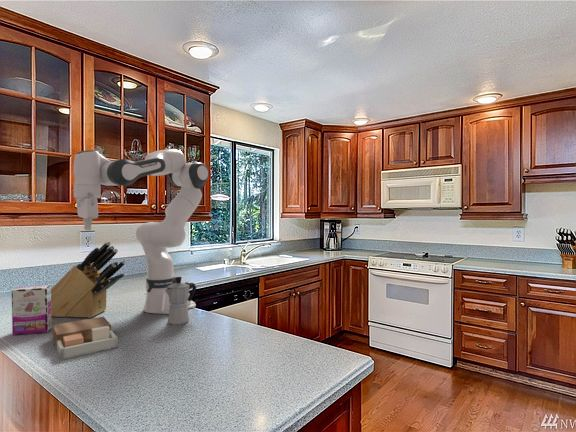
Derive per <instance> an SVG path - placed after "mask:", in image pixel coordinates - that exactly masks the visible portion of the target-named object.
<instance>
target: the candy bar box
mask: <svg viewBox="0 0 576 432" xmlns="http://www.w3.org/2000/svg"><path fill="white" fill-rule="evenodd" d="M51 289H52V286H51V285H38V286H23V287H22V286H21V287H16V288H14V289H12V290H11V317H12V318H11V326H12V331H11V333H12V336H21V335H32V334H33V335H34V334H44V333H45V334H47V333H49V332H50V330H53V322H52V321H53V319H52V318H53V316H52V309H51Z"/></svg>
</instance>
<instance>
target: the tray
mask: <svg viewBox="0 0 576 432" xmlns="http://www.w3.org/2000/svg"><path fill="white" fill-rule="evenodd" d="M114 347H117V348H119V338H118V336H117V335H116V334H115V333H114V332H113V330H112V329H111V330H109V339H104V340H99V341H94V342H87V343H84V344H79V345H74V346H69V347H65V348H64V347H63V344H62V342H61V340H57V349H56V353H57V354H58V357H59V359H60V361H62V360H66V359H71V358H76V357H80V356H84V355H89V354H94V353H98V352H97V351H99V352H102V351H101V350H104V351H107V350H106V349H108V350H111V349H110V348H113V349H115V348H114ZM93 352H94V353H93Z"/></svg>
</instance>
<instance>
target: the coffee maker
mask: <svg viewBox="0 0 576 432" xmlns="http://www.w3.org/2000/svg"><path fill="white" fill-rule="evenodd" d="M175 277H176V283H175V284H172V285H169V286H167V289H165V291H166V292H167V294H168V296H169V302H170V303H171V305H170V309H169V314H167V324H169V325H171V326H175V325H176V326H178V325H184V323H185V324H187V323H189V321H190V315H189V309H188V308H187V304H186V302H187V301H192V299H193V296H194V295H195V292H196V290H197V286H196V284H195V283H194V282H187V281H186V282H182V278H183V277H182V276H175ZM190 290H191V291H190ZM188 295H189V298H188Z"/></svg>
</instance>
